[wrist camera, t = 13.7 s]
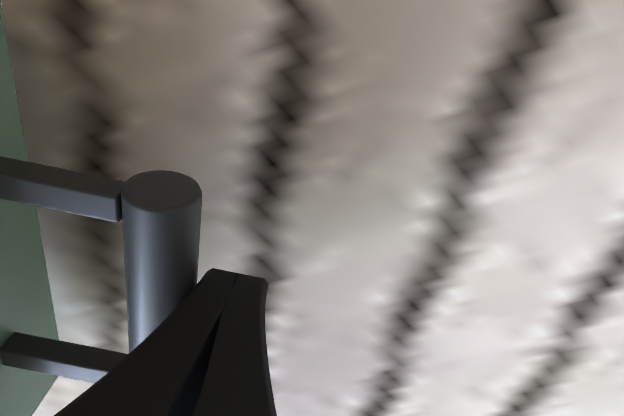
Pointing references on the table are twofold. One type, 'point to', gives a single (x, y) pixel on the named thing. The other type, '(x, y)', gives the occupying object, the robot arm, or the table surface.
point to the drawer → (32, 267)
